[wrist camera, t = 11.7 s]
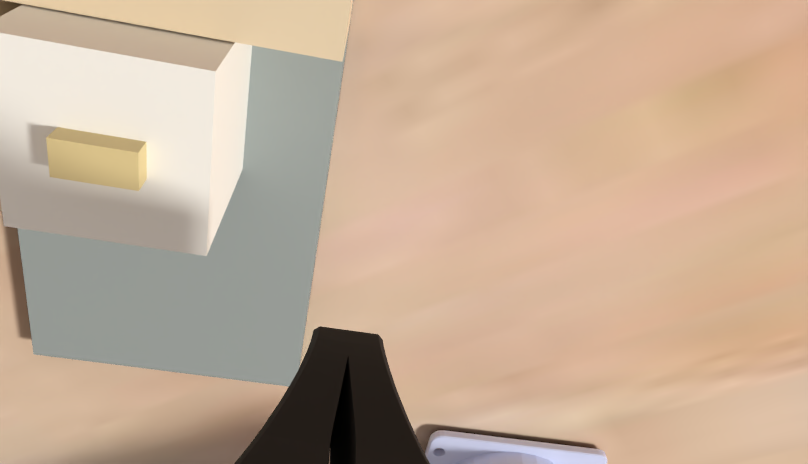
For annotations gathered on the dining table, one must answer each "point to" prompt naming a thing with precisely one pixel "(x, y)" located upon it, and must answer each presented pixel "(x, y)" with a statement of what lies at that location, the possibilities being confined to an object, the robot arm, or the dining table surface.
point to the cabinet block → (119, 129)
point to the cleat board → (240, 226)
